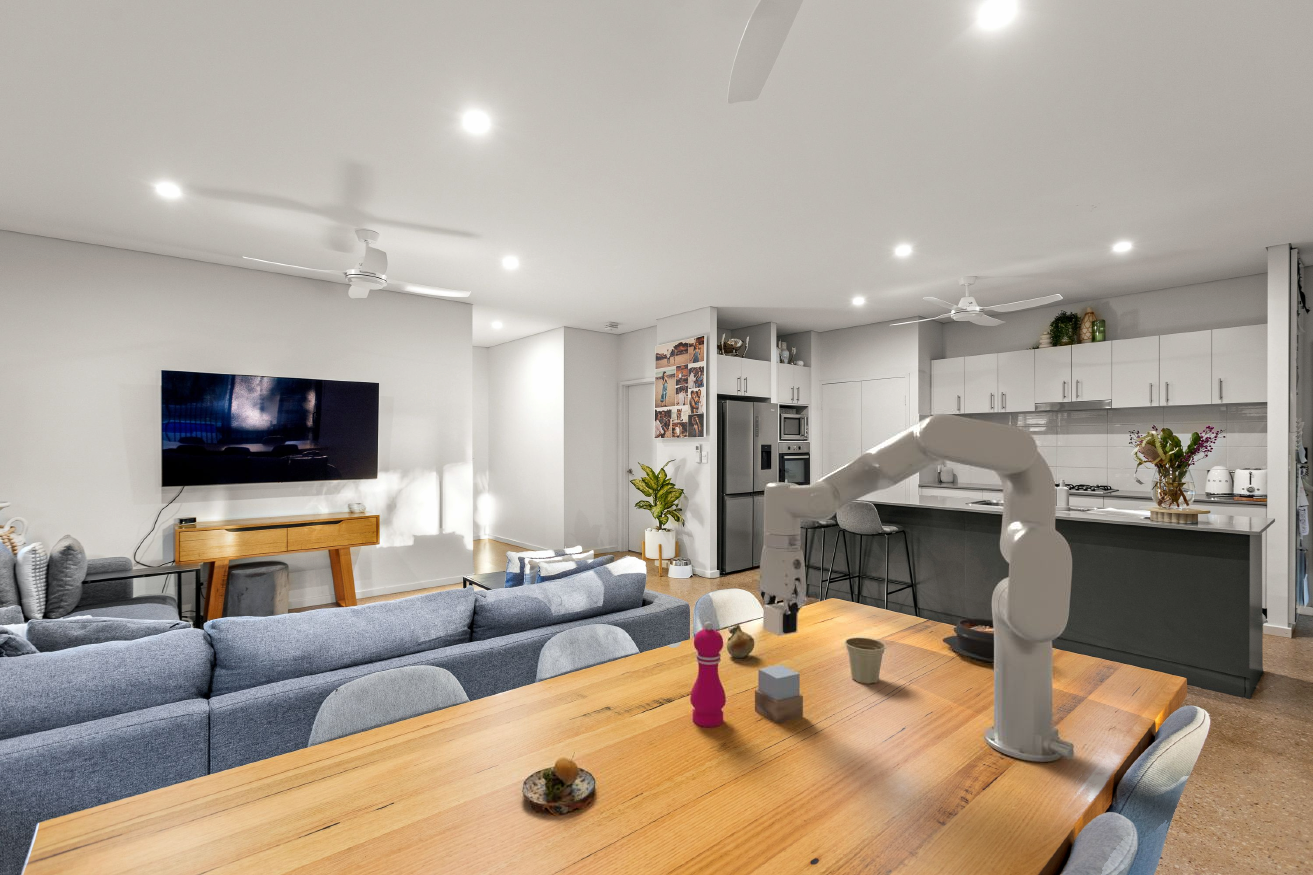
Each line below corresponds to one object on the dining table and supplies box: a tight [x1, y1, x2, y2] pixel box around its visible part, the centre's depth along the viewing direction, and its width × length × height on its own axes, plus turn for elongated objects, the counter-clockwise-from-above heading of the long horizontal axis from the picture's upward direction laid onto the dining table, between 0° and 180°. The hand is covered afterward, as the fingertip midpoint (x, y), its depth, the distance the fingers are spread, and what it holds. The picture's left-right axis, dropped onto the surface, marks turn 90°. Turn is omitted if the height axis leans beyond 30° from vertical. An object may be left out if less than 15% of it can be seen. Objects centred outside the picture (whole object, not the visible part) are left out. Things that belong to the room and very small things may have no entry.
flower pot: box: [844, 637, 887, 685], centre depth 152 cm, size 9×9×9 cm
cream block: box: [762, 602, 799, 637], centre depth 132 cm, size 5×5×5 cm
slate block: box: [757, 664, 801, 701], centre depth 132 cm, size 6×6×4 cm
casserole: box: [942, 618, 994, 665], centre depth 169 cm, size 25×19×8 cm
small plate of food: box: [521, 752, 597, 816], centre depth 101 cm, size 12×12×8 cm
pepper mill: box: [689, 621, 727, 728], centre depth 128 cm, size 7×7×20 cm
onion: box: [726, 624, 755, 659], centre depth 167 cm, size 8×8×8 cm
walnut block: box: [754, 689, 804, 725], centre depth 132 cm, size 7×7×4 cm
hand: (780, 627), depth 132 cm, fingers closed on cream block, 5 cm apart
